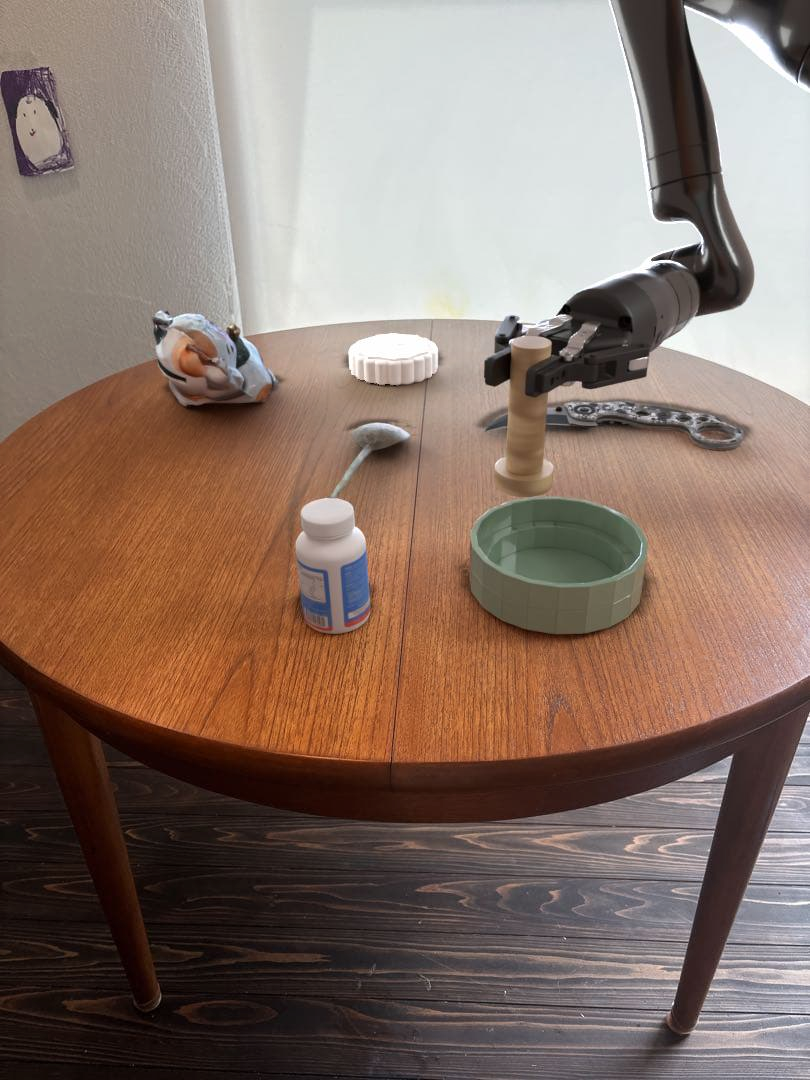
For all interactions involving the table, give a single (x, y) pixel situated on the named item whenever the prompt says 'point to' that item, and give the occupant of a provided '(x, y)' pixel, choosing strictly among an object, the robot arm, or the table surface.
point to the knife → (639, 420)
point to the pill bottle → (332, 567)
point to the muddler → (525, 426)
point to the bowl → (557, 564)
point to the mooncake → (393, 359)
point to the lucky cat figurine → (209, 361)
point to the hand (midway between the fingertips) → (509, 378)
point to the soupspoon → (370, 446)
